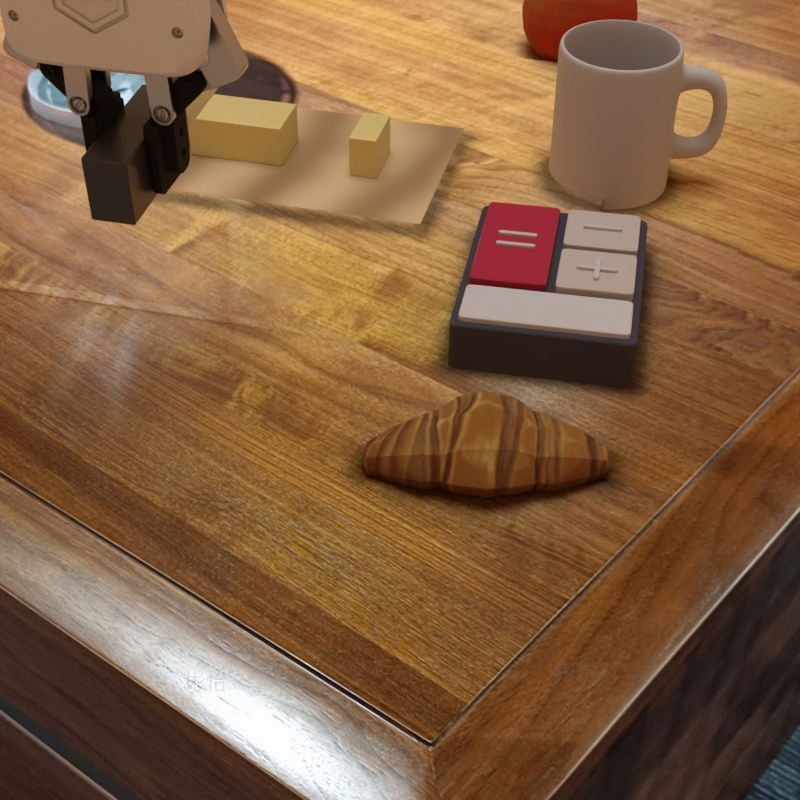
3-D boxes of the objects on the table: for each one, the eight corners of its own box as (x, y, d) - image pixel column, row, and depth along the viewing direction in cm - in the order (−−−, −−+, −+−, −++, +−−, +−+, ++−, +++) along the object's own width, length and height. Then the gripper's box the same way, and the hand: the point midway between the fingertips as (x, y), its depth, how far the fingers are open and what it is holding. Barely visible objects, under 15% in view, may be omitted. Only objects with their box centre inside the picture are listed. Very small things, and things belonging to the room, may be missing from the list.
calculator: (649, 209, 89) (639, 334, 77) (642, 266, 91) (631, 395, 80) (483, 193, 90) (448, 313, 79) (480, 249, 93) (446, 373, 81)
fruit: (637, 41, 117) (651, -74, 111) (626, 90, 110) (640, -30, 104) (528, 30, 119) (535, -84, 113) (510, 78, 112) (517, -41, 106)
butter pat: (349, 175, 97) (348, 137, 95) (364, 148, 100) (363, 111, 98) (376, 179, 96) (376, 141, 94) (390, 152, 99) (390, 115, 97)
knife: (135, 226, 68) (125, 163, 66) (91, 220, 69) (80, 158, 67) (244, 74, 81) (239, 17, 79) (206, 69, 81) (200, 13, 79)
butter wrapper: (121, 200, 97) (118, 182, 96) (192, 111, 107) (190, 94, 106) (420, 242, 93) (420, 223, 92) (463, 145, 103) (464, 127, 102)
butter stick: (190, 154, 99) (186, 117, 97) (210, 129, 102) (206, 92, 100) (282, 166, 98) (279, 129, 96) (298, 140, 101) (296, 103, 99)
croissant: (601, 437, 77) (610, 367, 74) (614, 520, 72) (624, 450, 69) (364, 434, 77) (362, 364, 74) (359, 517, 72) (357, 446, 69)
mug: (548, 215, 95) (561, 70, 88) (545, 155, 102) (556, 16, 95) (720, 220, 95) (746, 75, 88) (705, 160, 101) (728, 20, 94)
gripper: (-119, -177, 58) (-32, 194, 70) (234, -149, 55) (264, 234, 67) (-35, -223, 64) (33, 127, 76) (290, -201, 61) (308, 161, 73)
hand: (141, 175), depth 71 cm, fingers closed on knife, 2 cm apart
